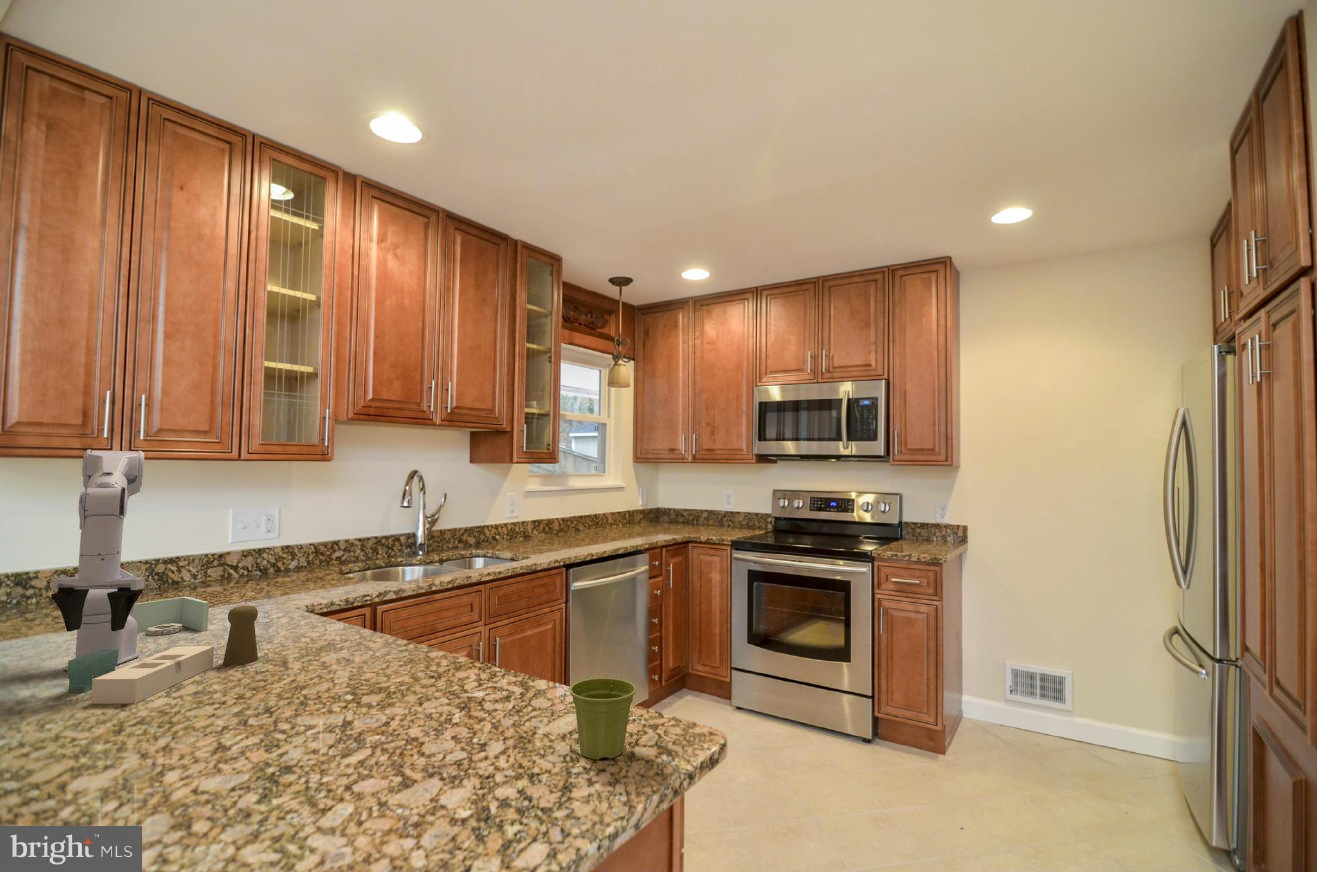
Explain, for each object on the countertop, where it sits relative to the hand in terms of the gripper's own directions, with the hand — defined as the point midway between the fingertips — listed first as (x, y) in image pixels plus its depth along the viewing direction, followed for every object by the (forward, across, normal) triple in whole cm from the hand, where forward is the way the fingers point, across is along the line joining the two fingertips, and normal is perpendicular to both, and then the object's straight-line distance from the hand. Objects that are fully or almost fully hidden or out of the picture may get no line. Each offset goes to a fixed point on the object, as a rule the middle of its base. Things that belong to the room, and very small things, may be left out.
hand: (95, 630), depth 114 cm
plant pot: (+10, +92, -30) cm, 97 cm away
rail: (+10, +10, +1) cm, 14 cm away
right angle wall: (+11, -14, +39) cm, 43 cm away
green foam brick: (+10, 0, 0) cm, 10 cm away
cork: (+10, +17, +15) cm, 25 cm away
